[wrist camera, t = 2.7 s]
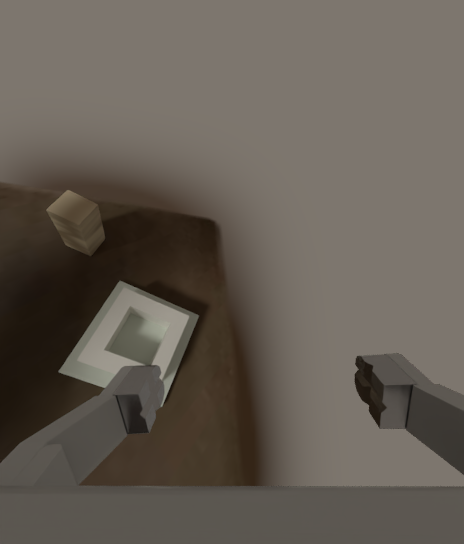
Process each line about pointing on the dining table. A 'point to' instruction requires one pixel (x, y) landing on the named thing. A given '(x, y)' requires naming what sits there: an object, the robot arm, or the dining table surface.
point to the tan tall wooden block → (77, 222)
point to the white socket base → (131, 337)
